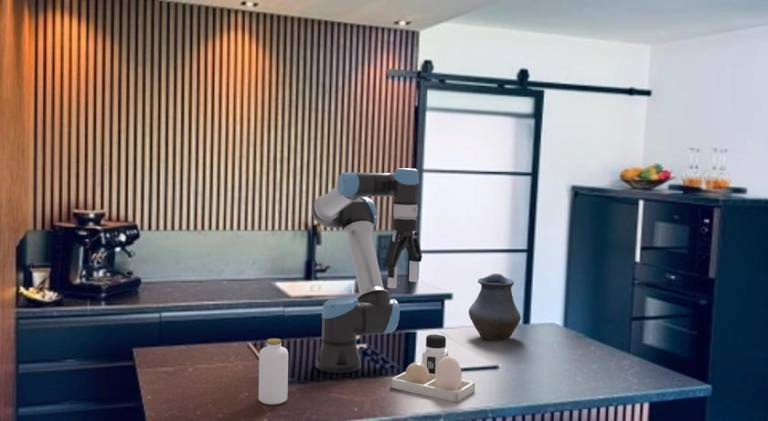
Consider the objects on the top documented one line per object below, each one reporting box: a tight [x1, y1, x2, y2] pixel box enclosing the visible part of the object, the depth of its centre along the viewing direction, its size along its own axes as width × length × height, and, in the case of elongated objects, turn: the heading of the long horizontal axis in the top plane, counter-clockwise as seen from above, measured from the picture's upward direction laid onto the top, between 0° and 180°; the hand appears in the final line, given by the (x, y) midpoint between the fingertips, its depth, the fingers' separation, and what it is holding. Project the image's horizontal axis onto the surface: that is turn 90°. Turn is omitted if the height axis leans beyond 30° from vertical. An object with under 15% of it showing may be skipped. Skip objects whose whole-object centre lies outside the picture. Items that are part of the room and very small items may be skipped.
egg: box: [435, 355, 463, 391], centre depth 222 cm, size 8×8×11 cm
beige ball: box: [405, 361, 429, 385], centre depth 228 cm, size 7×7×7 cm
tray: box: [390, 371, 476, 403], centre depth 225 cm, size 23×12×4 cm, turn 59°
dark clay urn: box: [468, 273, 522, 341], centre depth 293 cm, size 21×22×25 cm
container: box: [421, 333, 449, 374], centre depth 244 cm, size 8×8×13 cm
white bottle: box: [258, 338, 289, 406], centre depth 213 cm, size 8×8×18 cm
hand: (402, 284), depth 232 cm, fingers open, 13 cm apart
